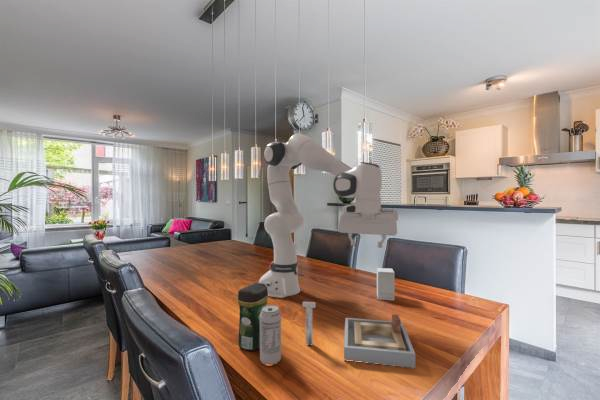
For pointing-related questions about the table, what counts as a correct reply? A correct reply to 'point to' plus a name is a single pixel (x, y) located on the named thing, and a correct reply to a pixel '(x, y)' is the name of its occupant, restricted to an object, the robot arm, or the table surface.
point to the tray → (377, 354)
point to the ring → (380, 330)
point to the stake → (309, 320)
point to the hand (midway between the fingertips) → (366, 246)
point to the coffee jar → (251, 314)
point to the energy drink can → (270, 334)
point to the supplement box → (385, 284)
